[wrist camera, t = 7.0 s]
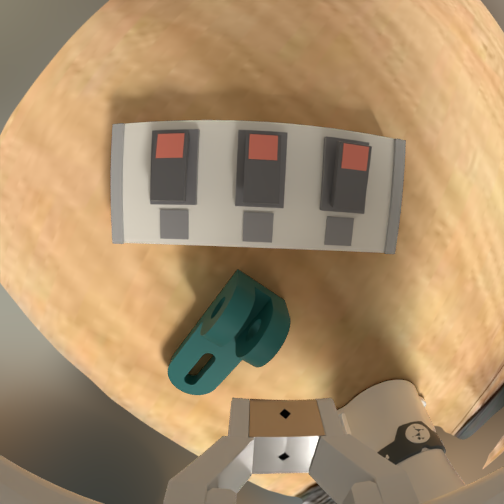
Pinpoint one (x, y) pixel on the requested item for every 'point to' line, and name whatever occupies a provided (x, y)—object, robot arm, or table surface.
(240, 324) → the bracket
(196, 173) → the power strip
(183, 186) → the rocker
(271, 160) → the rocker
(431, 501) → the robot arm
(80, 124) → the table surface
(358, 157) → the rocker
